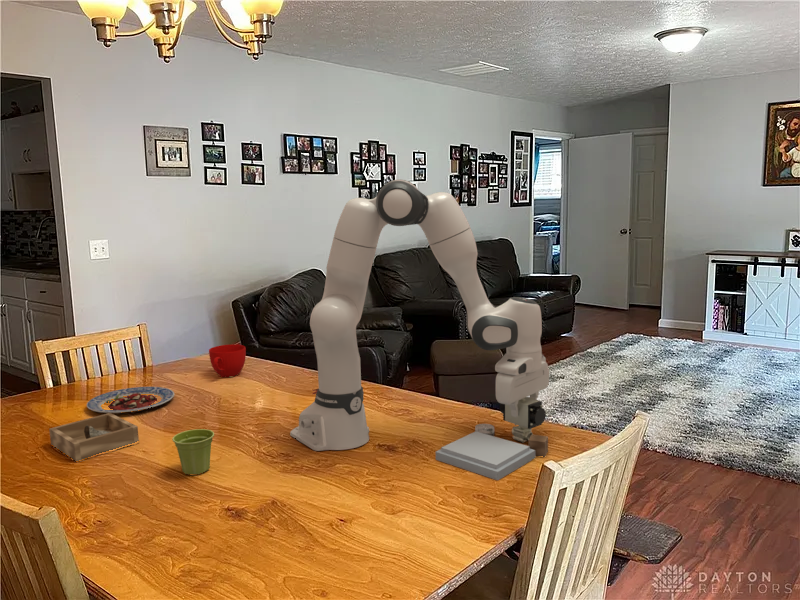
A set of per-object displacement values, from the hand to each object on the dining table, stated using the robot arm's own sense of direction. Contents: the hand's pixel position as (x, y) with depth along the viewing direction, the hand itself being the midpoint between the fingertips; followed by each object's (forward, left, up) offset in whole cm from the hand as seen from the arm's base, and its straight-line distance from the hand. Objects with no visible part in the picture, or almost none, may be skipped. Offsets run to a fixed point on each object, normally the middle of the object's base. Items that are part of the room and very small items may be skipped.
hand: (523, 412), depth 166 cm
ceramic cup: (-115, -16, -7) cm, 116 cm away
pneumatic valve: (0, -1, -7) cm, 7 cm away
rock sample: (-84, -74, -7) cm, 112 cm away
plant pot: (-49, -66, -7) cm, 83 cm away
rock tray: (-85, -75, -7) cm, 114 cm away
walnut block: (+8, -6, -7) cm, 12 cm away
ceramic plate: (-111, -53, -8) cm, 123 cm away
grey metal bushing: (-9, -5, -7) cm, 12 cm away
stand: (0, -17, -7) cm, 18 cm away
